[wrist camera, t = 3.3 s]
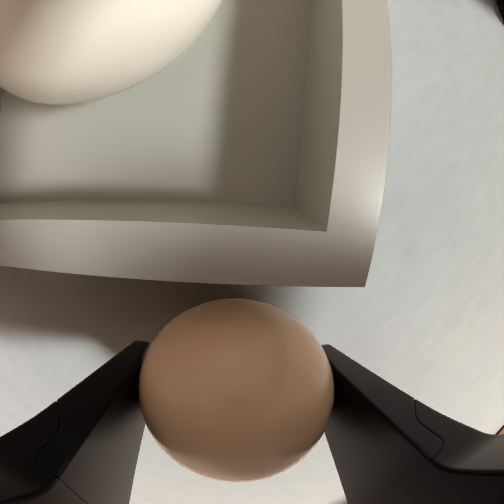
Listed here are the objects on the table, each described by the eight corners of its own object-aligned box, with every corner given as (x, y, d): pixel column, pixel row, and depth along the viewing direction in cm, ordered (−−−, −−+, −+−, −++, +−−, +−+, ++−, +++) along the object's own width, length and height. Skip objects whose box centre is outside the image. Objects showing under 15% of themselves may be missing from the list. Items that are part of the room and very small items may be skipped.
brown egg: (317, 270, 8) (404, 382, 4) (292, 386, 10) (326, 494, 5) (151, 263, 7) (84, 386, 3) (163, 384, 9) (146, 499, 4)
